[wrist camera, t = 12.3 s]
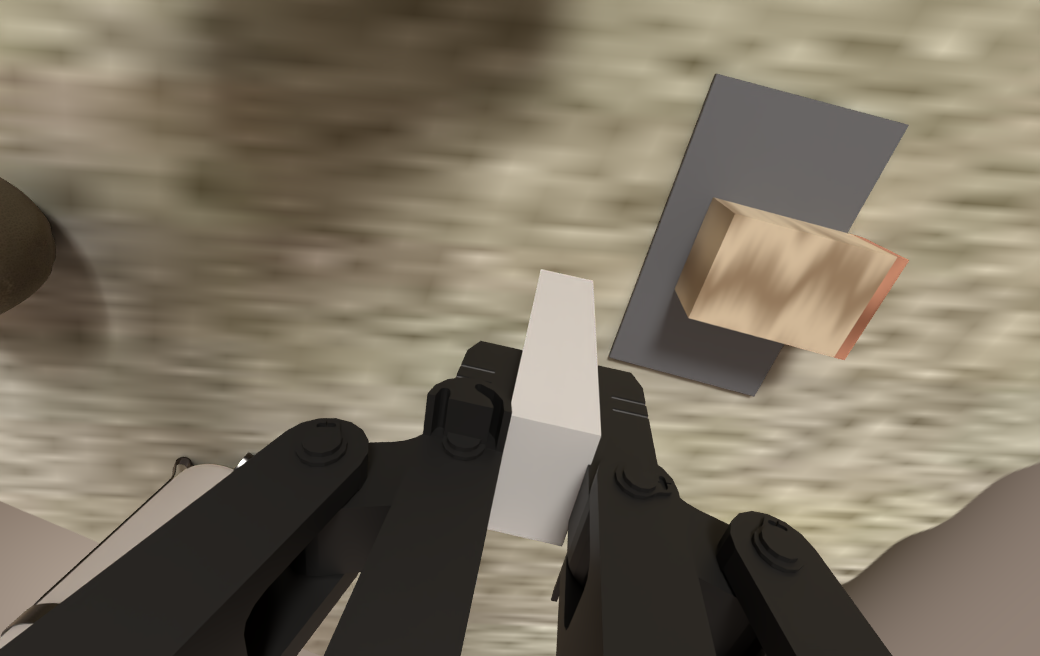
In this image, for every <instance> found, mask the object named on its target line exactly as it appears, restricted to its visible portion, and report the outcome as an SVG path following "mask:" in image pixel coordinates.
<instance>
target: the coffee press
mask: <svg viewBox="0 0 1040 656" xmlns="http://www.w3.org/2000/svg"><path fill="white" fill-rule="evenodd" d="M253 456H254V455H252V454H250V453H247V454H246V456H245V457H244V458H243V459H242V460H241V462H240V463H239V464H238V465H237V467H236V468H235V469H231V468H228V467H225V466H221V465H216V464H201V465H196V466H192V465H191V460H190V459H189V458H187V457H180V458H178V459H177V460H176V462H175V464H174V467H173V471H172V478H171V479H170V480H169V481H168V482H167V483H166V484H164V485H163V486H162V487H161V488H160V489H159V490H158V491H157V492H156V493H155V494H154V495H152V496H151V497H150V498H149V499H148V500H147V501H146V502H145V503H144V504H143V505H142V506H140V507H139V508H138V509H137V510H136V511H135V512H134V513H133V514H132V515H131V516H130V517H128V518H127V519H126V520H125V521H124V522H123V523H122V524H121V525H120V526H119V527H117V528H116V529H115V530H114V531H113V532H112V533H111V534H110V535H109V536H108V537H107V538H105V539H104V540H103V541H102V542H101V543H100V544H99V545H98V546H97V547H96V548H94V549H93V550H92V551H91V552H90V553H89V554H88V555H87V556H86V557H85V558H84V559H82V560H81V561H80V562H79V563H78V564H77V565H76V566H75V567H74V568H73V569H72V570H70V571H69V572H68V573H67V574H66V575H65V576H64V577H63V578H62V579H61V580H59V581H58V582H57V583H56V584H55V585H54V586H53V587H52V588H51V589H50V590H49V591H47V592H46V593H45V594H44V595H43V596H42V597H41V598H40V599H39V600H38V601H37V602H36V603H35V604H34V605H33V606H32V607H30V608H29V609H27V610H26V611H25V612H24V613H23V614H22V615H21V616H19V617H18V618H17V619H16V620H15V621H14V622H13V623H12V624H11V625H9V626H8V627H7V628H6V629H5V630H4V631H3V632H2V634H1V638H0V649H1V648H2V647H3V646H5V645H6V644H7V643H9V642H10V641H11V640H13V639H14V638H15V637H16V636H18V635H19V634H20V633H22V632H23V631H24V630H26V629H27V628H28V627H30V626H31V625H32V624H34V623H35V622H36V621H37V620H39V619H40V618H41V617H43V616H44V615H45V614H47V613H48V612H49V611H51V610H52V609H53V608H55V607H56V606H57V605H59V604H60V603H61V602H62V601H64V600H65V599H66V598H68V597H69V596H70V595H72V594H73V593H74V592H76V591H77V590H78V589H80V588H81V587H82V586H83V585H85V584H86V583H87V582H89V581H90V580H91V579H93V578H94V577H95V576H97V575H98V574H99V573H101V572H102V571H103V570H104V569H106V568H107V567H108V566H110V565H111V564H112V563H114V562H115V561H116V560H118V559H119V558H120V557H122V556H123V555H124V554H125V553H127V552H128V551H129V550H131V549H132V548H133V547H135V546H136V545H137V544H139V543H140V542H141V541H143V540H144V539H145V538H147V537H148V536H149V535H150V534H152V533H153V532H154V531H156V530H157V529H158V528H160V527H161V526H162V525H164V524H165V523H166V522H168V521H169V520H170V519H171V518H173V517H174V516H175V515H177V514H178V513H179V512H181V511H182V510H183V509H185V508H186V507H187V506H189V505H190V504H191V503H192V502H194V501H195V500H196V499H198V498H199V497H200V496H202V495H203V494H204V493H206V492H207V491H208V490H210V489H211V488H212V487H214V486H215V485H216V484H217V483H219V482H220V481H221V480H223V479H224V478H225V477H227V476H228V475H229V474H231V473H232V472H233V471H235V470H236V469H237V468H238V467H240V466H241V465H242V464H244V463H245V462H246V461H248V460H249V459H250V458H252V457H253ZM178 464H183V465H185V466H186V467H187V469H185V470H184V471H182V472H181V473H180V474H179V475H177V476H176V477H175V478H174V475H175V473H176V466H177V465H178ZM173 478H174V479H173Z"/></svg>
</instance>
